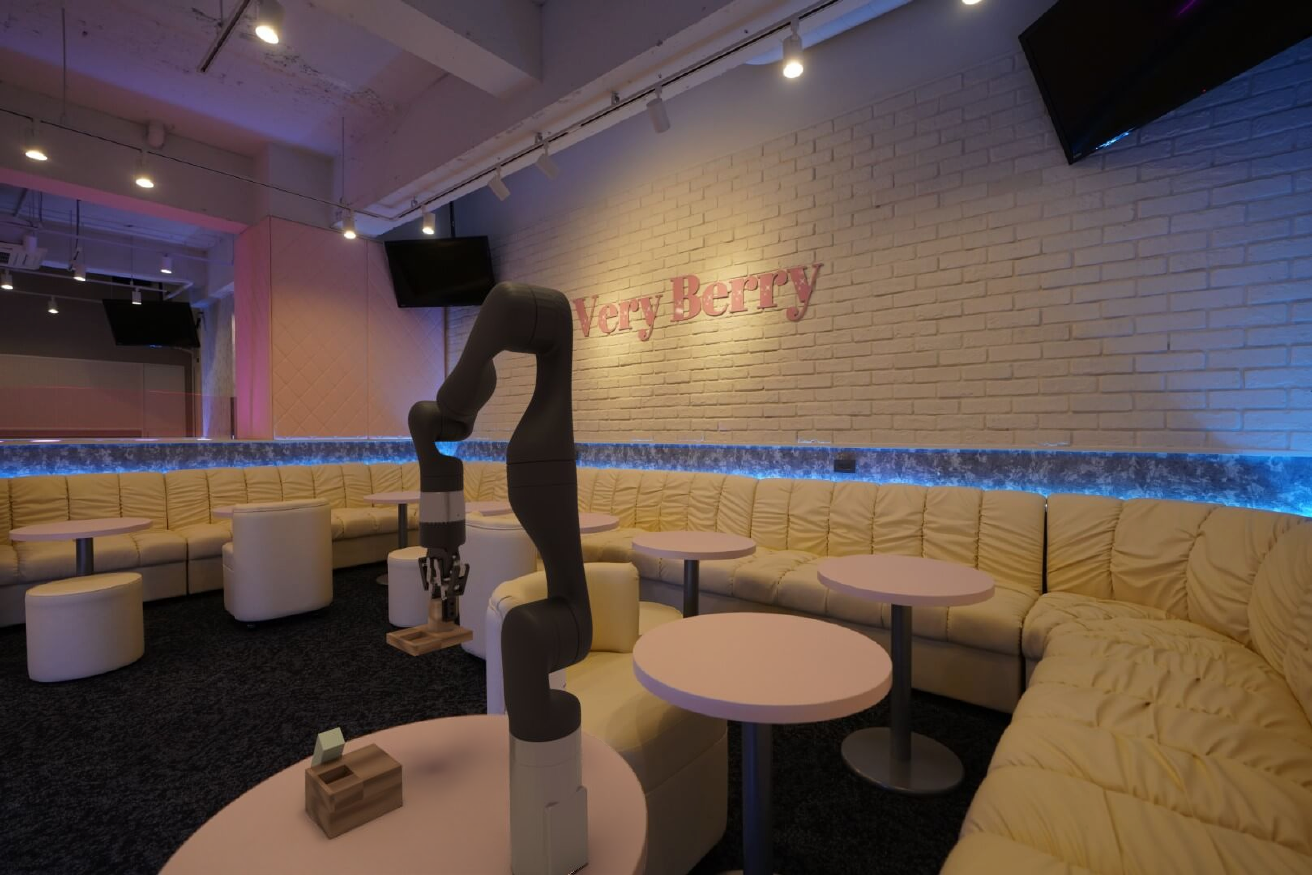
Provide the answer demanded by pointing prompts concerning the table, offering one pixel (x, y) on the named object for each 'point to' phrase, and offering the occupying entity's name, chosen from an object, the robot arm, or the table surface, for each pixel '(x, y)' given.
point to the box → (352, 789)
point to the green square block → (328, 746)
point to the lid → (430, 633)
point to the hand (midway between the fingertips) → (443, 618)
